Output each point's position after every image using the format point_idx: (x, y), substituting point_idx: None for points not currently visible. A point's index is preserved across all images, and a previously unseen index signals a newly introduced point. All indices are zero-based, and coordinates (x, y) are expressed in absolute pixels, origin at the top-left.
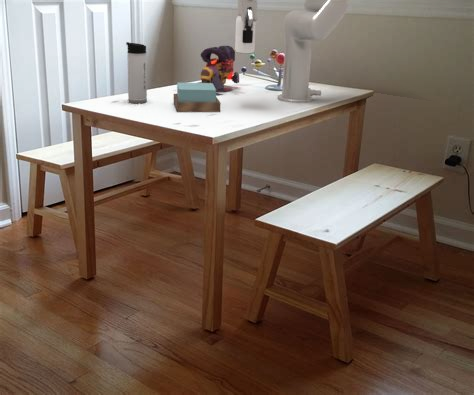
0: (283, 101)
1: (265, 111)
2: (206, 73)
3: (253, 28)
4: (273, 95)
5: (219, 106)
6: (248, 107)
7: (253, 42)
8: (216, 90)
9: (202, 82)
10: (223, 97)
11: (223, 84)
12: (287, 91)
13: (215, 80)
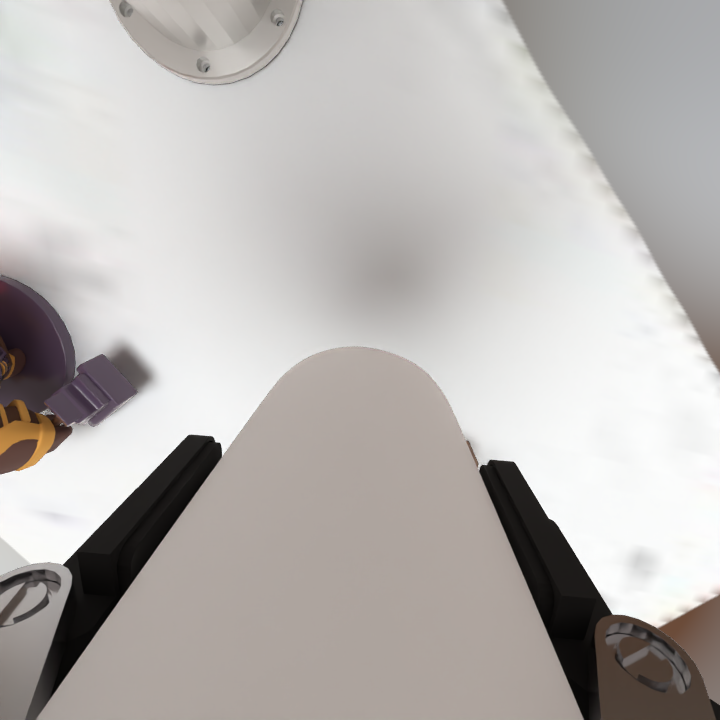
0: (263, 67)
1: (469, 242)
2: (18, 456)
3: (523, 594)
4: (92, 72)
5: (473, 457)
6: (379, 299)
7: (451, 423)
8: (67, 369)
9: (54, 449)
10: (170, 357)
11: (91, 363)
12: (235, 11)
13: (90, 412)
